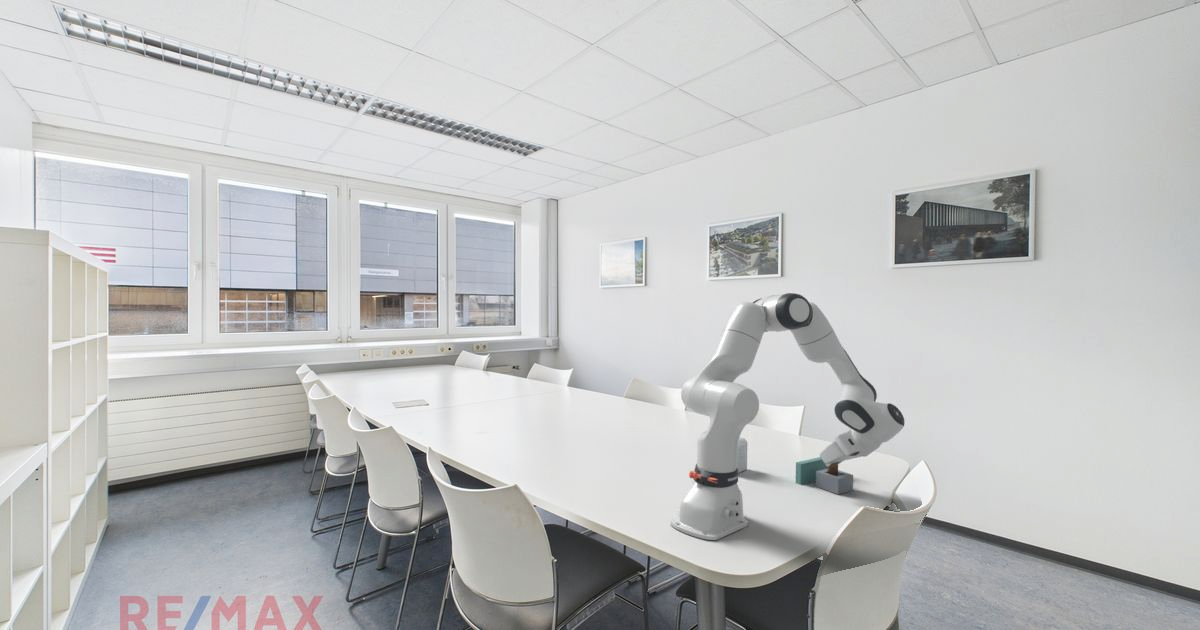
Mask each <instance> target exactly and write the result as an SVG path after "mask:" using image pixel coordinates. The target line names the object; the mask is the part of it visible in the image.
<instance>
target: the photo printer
mask: <svg viewBox="0 0 1200 630" xmlns="http://www.w3.org/2000/svg"><path fill="white" fill-rule="evenodd" d="M737 468H738V473H739V474H740V473H742V472H745V471H746V470H747V468H748V441H747V439H746V438H745V437H741V436H740V437H739V441H738V448H737Z"/></svg>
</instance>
